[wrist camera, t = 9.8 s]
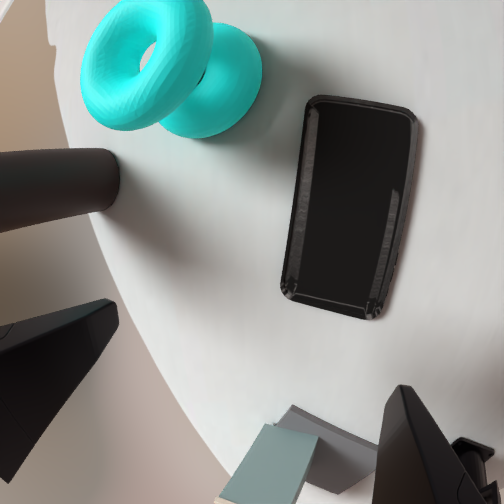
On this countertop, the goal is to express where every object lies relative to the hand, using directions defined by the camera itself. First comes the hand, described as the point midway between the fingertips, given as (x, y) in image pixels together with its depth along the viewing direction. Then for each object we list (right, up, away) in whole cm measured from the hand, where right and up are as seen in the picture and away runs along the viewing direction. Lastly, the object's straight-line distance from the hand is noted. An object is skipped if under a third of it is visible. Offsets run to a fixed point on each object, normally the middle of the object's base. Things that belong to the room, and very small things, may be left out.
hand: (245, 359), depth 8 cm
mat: (+7, -18, +18) cm, 27 cm away
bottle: (-16, +11, +21) cm, 28 cm away
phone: (+7, +6, +12) cm, 15 cm away
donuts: (-3, +17, +14) cm, 22 cm away
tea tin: (+4, -17, +18) cm, 25 cm away
